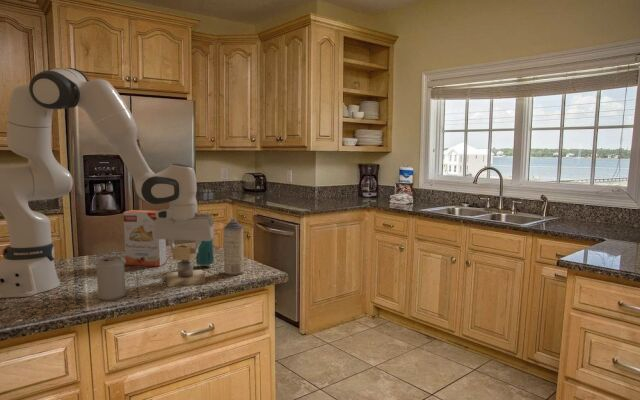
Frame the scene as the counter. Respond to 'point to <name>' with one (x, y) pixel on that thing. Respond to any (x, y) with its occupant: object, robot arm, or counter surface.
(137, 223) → the cracker box
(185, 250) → the collar
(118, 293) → the can
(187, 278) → the shaft stand
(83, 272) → the counter surface
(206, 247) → the beverage bottle
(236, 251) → the aerosol can
